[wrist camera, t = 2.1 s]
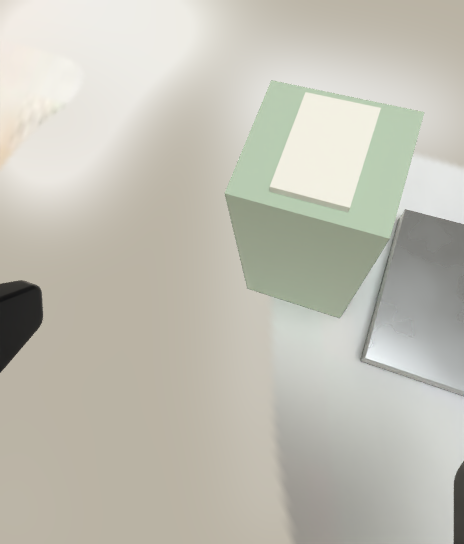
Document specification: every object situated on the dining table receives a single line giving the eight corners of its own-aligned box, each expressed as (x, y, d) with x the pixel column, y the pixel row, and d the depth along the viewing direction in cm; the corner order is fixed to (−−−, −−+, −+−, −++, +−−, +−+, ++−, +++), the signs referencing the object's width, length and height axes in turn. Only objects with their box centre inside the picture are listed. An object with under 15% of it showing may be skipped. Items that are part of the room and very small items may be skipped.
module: (362, 240, 22) (427, 105, 13) (339, 318, 21) (392, 234, 11) (274, 216, 23) (271, 73, 14) (247, 288, 22) (223, 188, 12)
